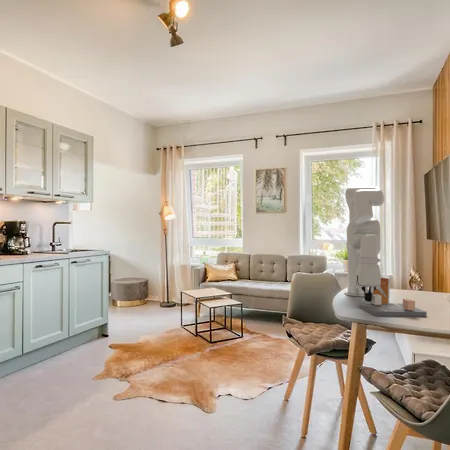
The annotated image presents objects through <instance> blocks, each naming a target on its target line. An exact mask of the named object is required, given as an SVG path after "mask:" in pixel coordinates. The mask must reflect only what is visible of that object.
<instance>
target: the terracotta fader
mask: <svg viewBox="0 0 450 450" xmlns="http://www.w3.org/2000/svg"><path fill="white" fill-rule="evenodd" d="M402 304H403V308H404V309H406V310H415V307H416V300H414V299H410V298H402Z"/></svg>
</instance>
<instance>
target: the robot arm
mask: <svg viewBox="0 0 450 450" xmlns="http://www.w3.org/2000/svg"><path fill="white" fill-rule="evenodd" d="M344 194H345V195H344V196H345V202H346V204H347V208H348V212H349V214H348V217H349V218H348V220H349V221H348V225H347V227H346V252H347V253H346V254H347V290H344V295H346V296H352V297H360V298H361V297H363V299H364V301H365V302H366V303H367V302H368V303H371V300H372V293H373V292H374V291H375V290H376V289H380V284H381V267H380V264H379V263H380V262H381V258H379V257H378V256H379V255H380V253H381V224H380V221H379V220H378V219H377V218H373V217H374V212H373V207H381V206H382V205H383V204H384V201H385V195H384V193H383V190H382V189H381V188H380V187H378V186H373V185H371V186H370V185H369V186H368V185H367V186H366V185H365V186H364V185H362V186H360V185H359V186H358V185H357V186H349V187H348V188H346V190H345V193H344Z"/></svg>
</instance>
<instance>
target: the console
mask: <svg viewBox="0 0 450 450" xmlns="http://www.w3.org/2000/svg"><path fill="white" fill-rule="evenodd" d="M358 305H359V307H358V308H359V309H361V310H364V311H365V312H367V313H369V314H371V315H373V316H375V317H427V313H428V312H427V311H426V310H424V309H420V308H419V307H416V306H415V310H406V309H404V308H403V303H390V302H389V303H381V305H374V304H372V303H371V302H368V303H367V302H365V303H364V302H359V304H358Z"/></svg>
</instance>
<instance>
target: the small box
mask: <svg viewBox="0 0 450 450" xmlns="http://www.w3.org/2000/svg"><path fill="white" fill-rule="evenodd" d="M390 281H391V277H390V276H381V284H380V289H376V290H375V291H374V292H373V293H372V294H378V295H380V296H381V303H390V295H391V294H390V290H391V289H390V288H391V287H390V283H391V282H390Z"/></svg>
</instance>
